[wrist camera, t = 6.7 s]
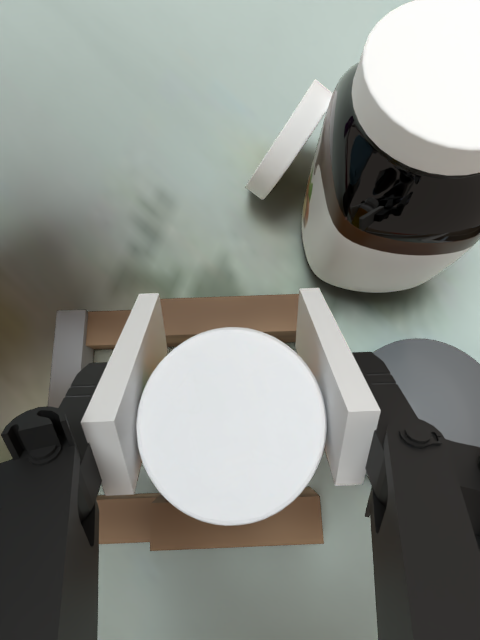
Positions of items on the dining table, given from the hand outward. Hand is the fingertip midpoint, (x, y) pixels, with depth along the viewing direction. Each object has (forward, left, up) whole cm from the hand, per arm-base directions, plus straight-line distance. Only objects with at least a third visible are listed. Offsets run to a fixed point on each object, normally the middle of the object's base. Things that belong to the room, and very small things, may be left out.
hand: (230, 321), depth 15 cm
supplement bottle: (-3, -3, -4) cm, 5 cm away
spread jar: (+11, +2, -8) cm, 14 cm away
